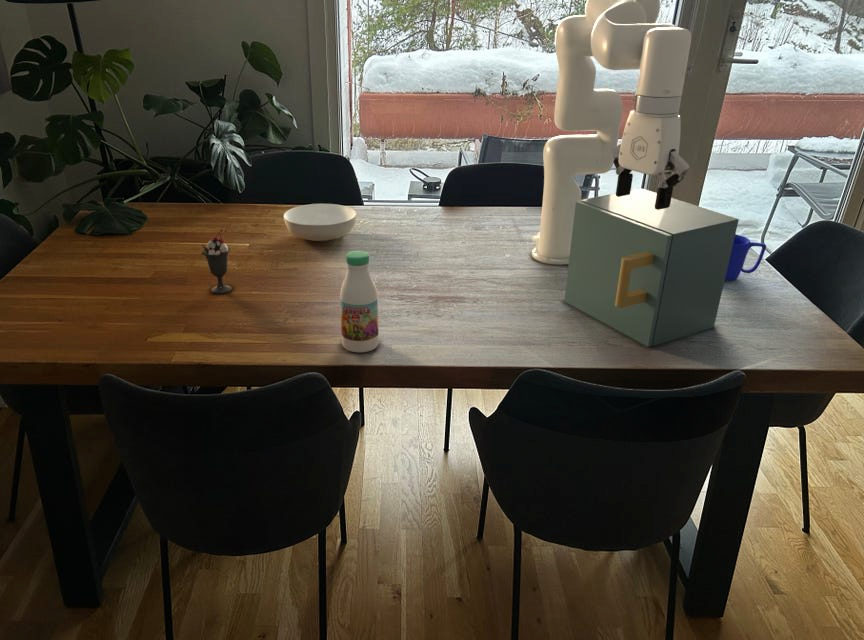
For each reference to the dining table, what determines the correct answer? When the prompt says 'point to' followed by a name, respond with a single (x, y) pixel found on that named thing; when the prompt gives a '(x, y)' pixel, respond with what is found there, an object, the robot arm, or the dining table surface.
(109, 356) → the dining table surface
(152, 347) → the dining table surface
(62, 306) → the dining table surface
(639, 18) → the robot arm
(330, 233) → the serving bowl
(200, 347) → the dining table surface
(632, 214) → the cabinet
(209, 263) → the sundae
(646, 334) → the cabinet door
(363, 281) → the milk bottle
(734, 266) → the mug
